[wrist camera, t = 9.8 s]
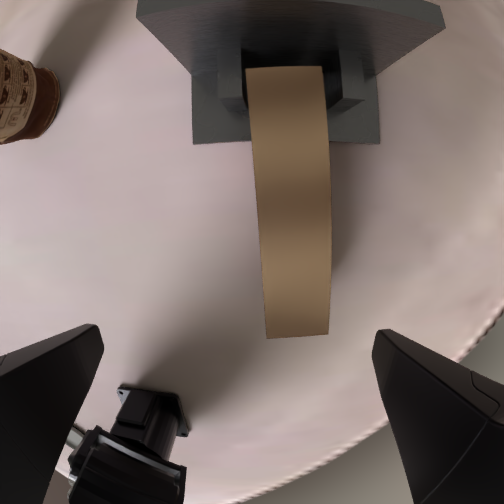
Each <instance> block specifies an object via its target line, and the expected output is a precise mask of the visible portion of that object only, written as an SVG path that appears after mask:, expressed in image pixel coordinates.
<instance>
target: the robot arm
mask: <svg viewBox="0 0 504 504" xmlns="http://www.w3.org/2000/svg"><path fill="white" fill-rule="evenodd" d="M103 352H104V344H103V341H102V337H101V334H100V330H99V328H98V326H97V325H94V324H84V325H82V326H79V327H76V328H74V329H71V330H69V331H66V332H63V333H61V334H58V335H56V336H53V337H50V338H48V339H45V340H42V341H40V342H37V343H35V344H32V345H29V346H27V347H24V348H21V349H19V350H16V351H13V352H11V353H8V354H7V355H6V354H5V355H3V356H0V504H43V500H44V497H45V495H46V492H47V489H48V486H49V482H50V480H51V477H52V475H53V472H54V470H55V467H56V465H57V462H58V460H59V457H60V455H61V452H62V450H63V447H64V445H65V442H66V440H67V438H68V435H69V433H70V431H71V428H72V426H73V424H74V422H75V419H76V417H77V415H78V413H79V411H80V408H81V406H82V404H83V402H84V400H85V398H86V396H87V394H88V391H89V389H90V387H91V385H92V382H93V379H94V377H95V374H96V371H97V368H98V366H99V363H100V360H101V358H102V355H103ZM372 360H373V365H374V369H375V373H376V377H377V382H378V386H379V390H380V394H381V398H382V401H383V404H384V407H385V410H386V413H387V416H388V419H389V422H390V424H391V428H392V431H393V434H394V437H395V440H396V443H397V446H398V449H399V453H400V456H401V459H402V462H403V466H404V469H405V472H406V476H407V480H408V483H409V487H410V490H411V494H412V498H413V502H414V504H504V385H503V384H500V383H498V382H495V381H493V380H491V379H489V378H487V377H485V376H483V375H480V374H478V373H476V372H474V371H470V369H468V368H466V367H464V366H462V365H460V364H458V363H456V362H454V361H452V360H450V359H448V358H446V357H444V356H442V355H440V354H438V353H436V352H434V351H432V350H431V349H429V348H427V347H425V346H423V345H421V344H419V343H417V342H415V341H413V340H411V339H409V338H407V337H405V336H403V335H401V334H399V333H397V332H395V331H393V330H391V329H382V330H378V331H377V333H376V336H375V341H374V345H373V350H372ZM117 394H118V396H119V398H120V401H121V403H122V407H121V409H120V411H119V413H118V415H117V416H116V421H115V423H114V425H113V427H112V429H111V431H110V432H109V433H108V432H107V431H105V430H103V429H102V428H101V427H99V426H98V425H96V427H95V428H94V430H87V432H86V434H85V436H84V437H83V439H82V441H81V442H80V444H79V445H78V446H77V447H76V448H75V450H74V451H73V452H72V453H71V454H70V456H69V458H68V462H69V465H70V475H69V479H70V480H72V481H73V482H75V484H74V486H73V488H72V491H71V493H70V495H69V503H70V504H183V502H184V494H185V482H186V470H187V467H185V466H182V465H181V466H180V465H177V464H174V463H172V462H169V458H170V454H171V451H172V448H173V444H174V441H175V438H176V436H180V437H187V436H188V434H189V431H188V428H187V425H186V421H185V418H184V414H183V411H182V407H181V404H180V400H179V397H178V396H177V395H175V394H169V393H160V392H153V391H145V390H138V389H132V388H126V387H118V389H117Z"/></svg>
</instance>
